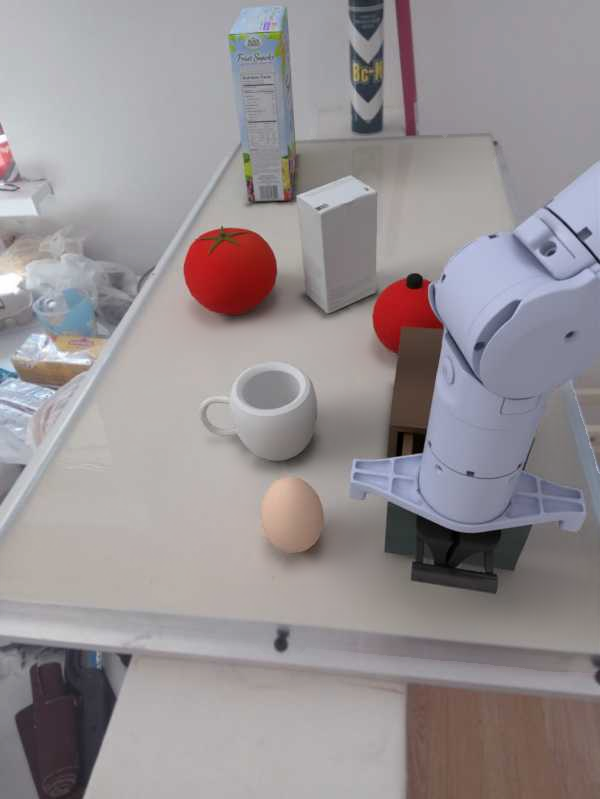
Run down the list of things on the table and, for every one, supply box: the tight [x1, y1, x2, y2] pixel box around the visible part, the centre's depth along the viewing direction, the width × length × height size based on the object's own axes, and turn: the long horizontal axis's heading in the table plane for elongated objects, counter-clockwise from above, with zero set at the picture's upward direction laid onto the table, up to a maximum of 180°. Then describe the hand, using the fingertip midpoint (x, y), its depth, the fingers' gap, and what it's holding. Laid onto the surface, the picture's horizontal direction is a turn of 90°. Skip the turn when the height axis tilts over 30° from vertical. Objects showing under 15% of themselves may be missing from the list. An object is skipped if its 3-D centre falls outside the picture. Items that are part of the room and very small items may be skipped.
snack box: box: [227, 4, 297, 203], centre depth 95 cm, size 22×9×26 cm, turn 179°
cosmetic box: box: [296, 174, 379, 315], centre depth 69 cm, size 8×6×15 cm
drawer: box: [383, 432, 534, 595], centre depth 45 cm, size 17×10×7 cm, turn 168°
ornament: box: [371, 272, 444, 355], centre depth 62 cm, size 9×9×10 cm
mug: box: [198, 361, 318, 462], centre depth 54 cm, size 12×8×8 cm
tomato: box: [182, 225, 278, 316], centre depth 72 cm, size 11×12×10 cm
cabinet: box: [386, 327, 536, 471], centre depth 52 cm, size 14×12×9 cm
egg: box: [260, 476, 325, 554], centre depth 45 cm, size 5×5×8 cm
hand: (444, 558), depth 41 cm, fingers closed, pressing on drawer
